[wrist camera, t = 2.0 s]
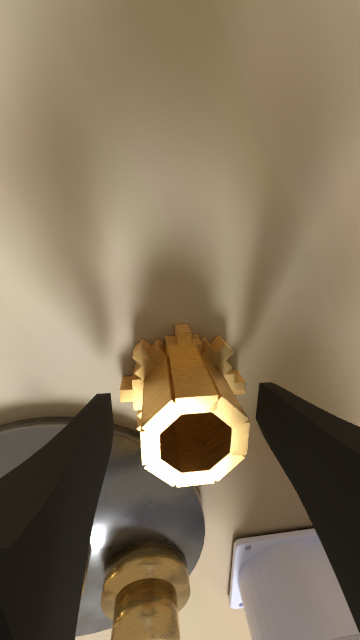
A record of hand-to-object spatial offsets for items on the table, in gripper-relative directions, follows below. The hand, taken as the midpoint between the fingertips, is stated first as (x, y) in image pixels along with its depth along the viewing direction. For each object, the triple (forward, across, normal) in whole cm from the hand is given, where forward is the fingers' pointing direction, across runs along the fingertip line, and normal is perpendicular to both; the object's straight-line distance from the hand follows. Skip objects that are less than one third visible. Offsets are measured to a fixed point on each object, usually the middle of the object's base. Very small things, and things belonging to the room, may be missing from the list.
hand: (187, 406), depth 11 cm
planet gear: (+3, 0, 0) cm, 3 cm away
